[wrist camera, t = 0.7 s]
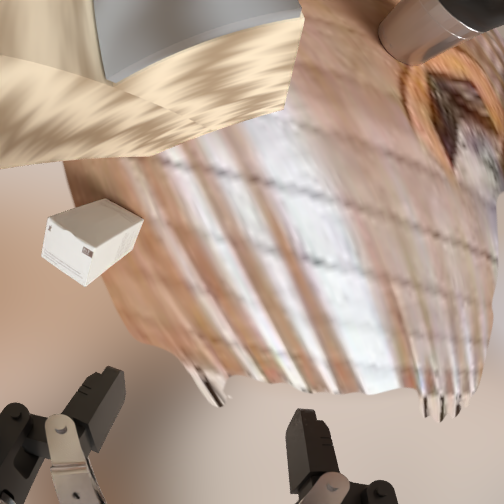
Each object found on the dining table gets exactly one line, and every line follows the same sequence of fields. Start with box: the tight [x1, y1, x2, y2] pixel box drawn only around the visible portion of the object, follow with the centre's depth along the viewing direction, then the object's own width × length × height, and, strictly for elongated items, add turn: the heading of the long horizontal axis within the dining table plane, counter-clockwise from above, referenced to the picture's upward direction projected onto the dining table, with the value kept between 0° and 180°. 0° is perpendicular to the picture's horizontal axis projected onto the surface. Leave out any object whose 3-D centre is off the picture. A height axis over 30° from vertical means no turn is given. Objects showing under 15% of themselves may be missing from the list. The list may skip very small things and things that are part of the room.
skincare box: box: [42, 198, 144, 287], centre depth 34 cm, size 8×6×15 cm
